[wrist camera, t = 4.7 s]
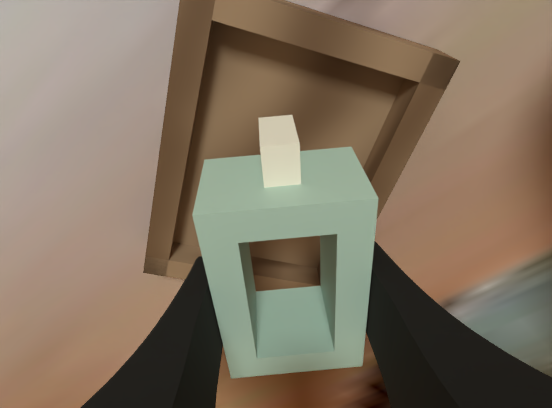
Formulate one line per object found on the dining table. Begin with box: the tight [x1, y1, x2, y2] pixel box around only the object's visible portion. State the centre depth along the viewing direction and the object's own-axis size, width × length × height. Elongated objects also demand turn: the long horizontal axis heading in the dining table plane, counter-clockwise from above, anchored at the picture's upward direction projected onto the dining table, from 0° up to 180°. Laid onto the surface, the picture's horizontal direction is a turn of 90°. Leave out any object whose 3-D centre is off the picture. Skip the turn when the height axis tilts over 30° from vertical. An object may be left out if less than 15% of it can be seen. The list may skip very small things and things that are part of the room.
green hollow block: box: [192, 115, 378, 378], centre depth 12 cm, size 8×5×3 cm, turn 4°
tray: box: [143, 0, 460, 291], centre depth 19 cm, size 11×14×2 cm
